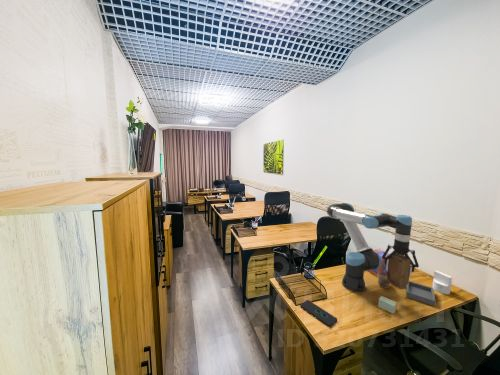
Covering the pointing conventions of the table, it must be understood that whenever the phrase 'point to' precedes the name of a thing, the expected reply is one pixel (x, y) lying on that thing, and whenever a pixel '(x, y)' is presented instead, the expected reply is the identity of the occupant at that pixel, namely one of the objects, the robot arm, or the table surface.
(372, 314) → the table surface
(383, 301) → the sage brick
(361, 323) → the table surface
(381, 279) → the walnut cube
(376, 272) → the game box
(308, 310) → the smart home device
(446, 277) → the white phone stand
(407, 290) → the tray
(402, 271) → the block
